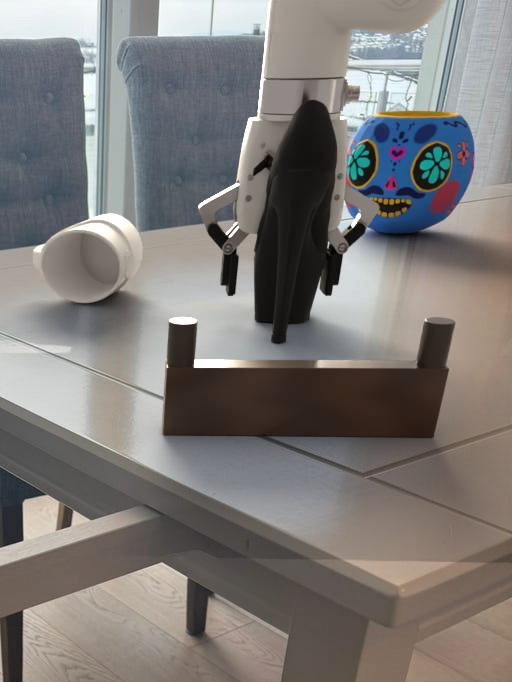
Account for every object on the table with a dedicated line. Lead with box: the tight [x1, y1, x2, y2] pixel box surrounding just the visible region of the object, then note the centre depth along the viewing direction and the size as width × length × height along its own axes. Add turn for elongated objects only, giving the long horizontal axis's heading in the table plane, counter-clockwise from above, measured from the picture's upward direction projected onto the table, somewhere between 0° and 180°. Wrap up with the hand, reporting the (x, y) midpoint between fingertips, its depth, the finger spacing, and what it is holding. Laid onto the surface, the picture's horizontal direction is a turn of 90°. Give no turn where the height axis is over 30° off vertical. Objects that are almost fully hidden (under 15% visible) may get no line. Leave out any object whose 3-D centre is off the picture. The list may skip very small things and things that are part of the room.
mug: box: [32, 213, 144, 304], centre depth 104 cm, size 12×9×8 cm
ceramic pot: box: [344, 110, 476, 235], centre depth 131 cm, size 18×18×15 cm
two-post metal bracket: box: [161, 316, 456, 438], centre depth 67 cm, size 20×2×8 cm, turn 86°
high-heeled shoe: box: [253, 100, 337, 343], centre depth 89 cm, size 8×19×20 cm, turn 167°
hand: (277, 292), depth 96 cm, fingers open, 9 cm apart
